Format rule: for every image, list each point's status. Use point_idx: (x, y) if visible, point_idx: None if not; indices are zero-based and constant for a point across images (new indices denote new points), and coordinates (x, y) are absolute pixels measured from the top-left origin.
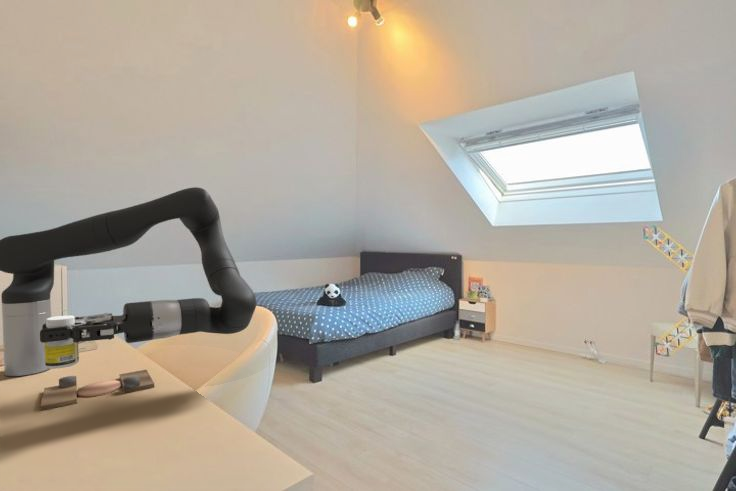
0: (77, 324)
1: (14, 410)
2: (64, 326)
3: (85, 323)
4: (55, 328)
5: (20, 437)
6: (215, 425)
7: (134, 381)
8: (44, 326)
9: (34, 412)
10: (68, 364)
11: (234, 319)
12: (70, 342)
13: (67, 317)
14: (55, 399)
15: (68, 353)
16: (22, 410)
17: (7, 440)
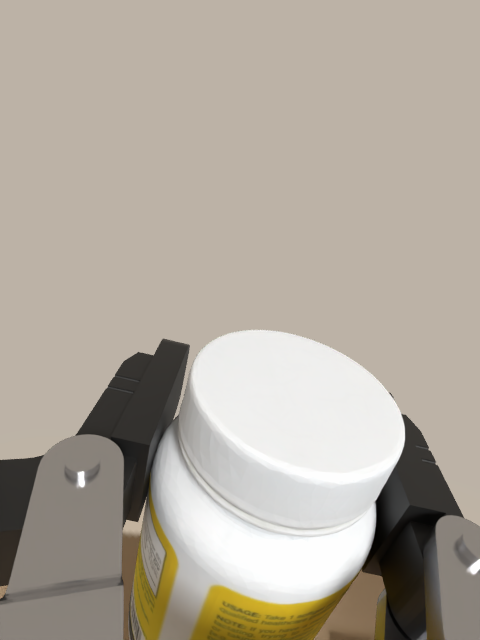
0: (107, 514)
1: (376, 579)
2: (149, 425)
3: (13, 596)
4: (143, 382)
5: (126, 564)
6: None
7: None
8: None
9: (327, 629)
10: (128, 625)
11: None
12: (146, 564)
13: (263, 414)
14: None
15: (134, 590)
16: (366, 598)
17: (135, 535)
